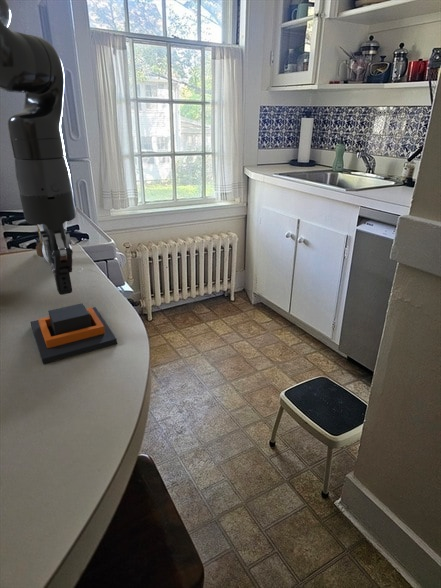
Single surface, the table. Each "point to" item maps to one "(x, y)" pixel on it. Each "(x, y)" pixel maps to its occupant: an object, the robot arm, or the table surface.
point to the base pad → (71, 338)
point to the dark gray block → (69, 319)
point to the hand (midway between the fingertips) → (65, 292)
